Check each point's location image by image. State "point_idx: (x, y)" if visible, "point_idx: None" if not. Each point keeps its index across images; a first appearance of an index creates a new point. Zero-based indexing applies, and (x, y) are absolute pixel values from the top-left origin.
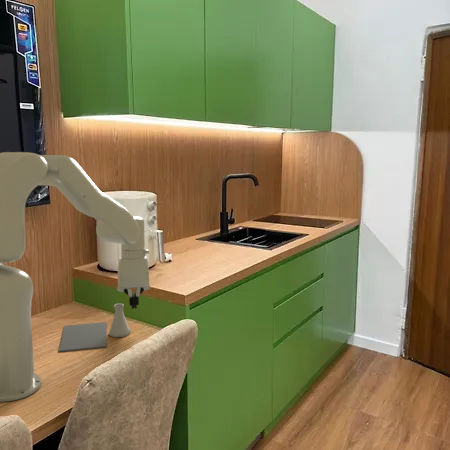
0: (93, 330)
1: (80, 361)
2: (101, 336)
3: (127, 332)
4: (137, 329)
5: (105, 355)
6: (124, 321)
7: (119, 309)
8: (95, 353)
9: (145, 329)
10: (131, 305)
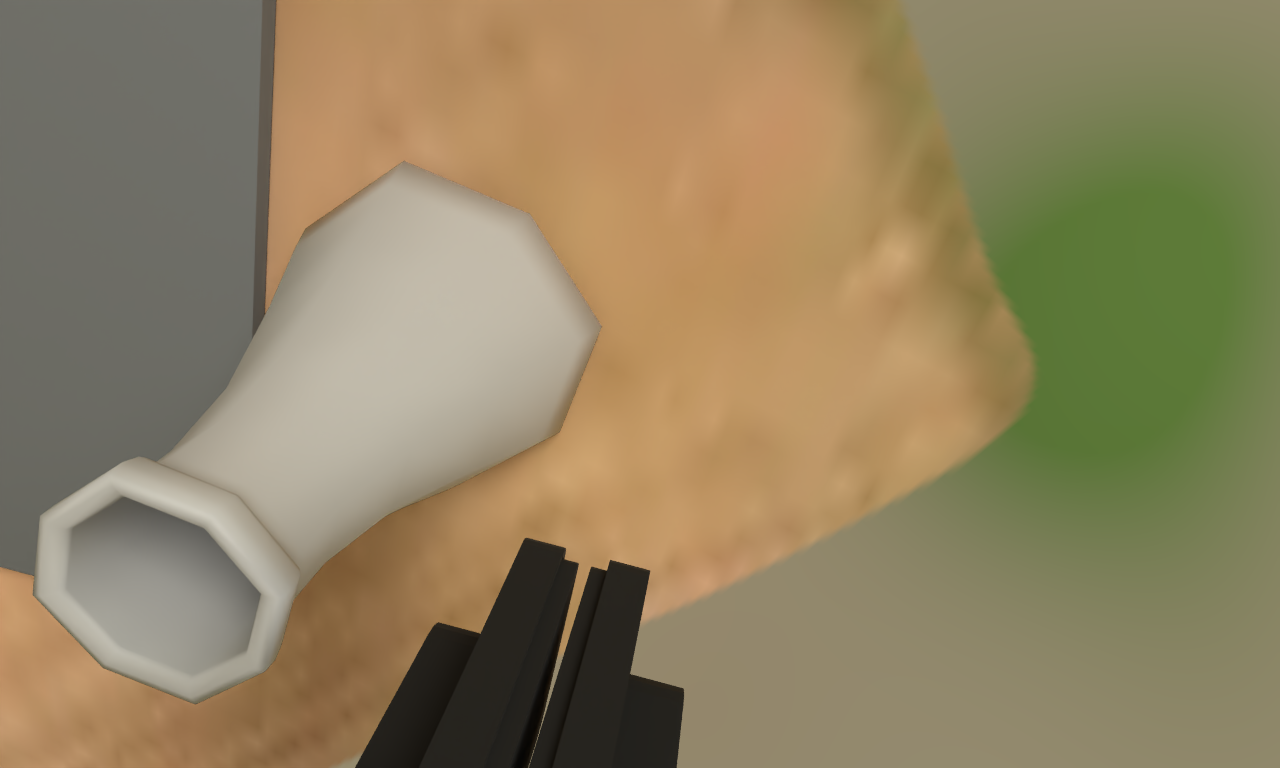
0: (67, 95)
1: (27, 745)
2: (186, 368)
3: (521, 451)
4: (719, 311)
5: (236, 754)
6: (433, 489)
7: (214, 625)
8: None
9: (829, 368)
10: (521, 557)
